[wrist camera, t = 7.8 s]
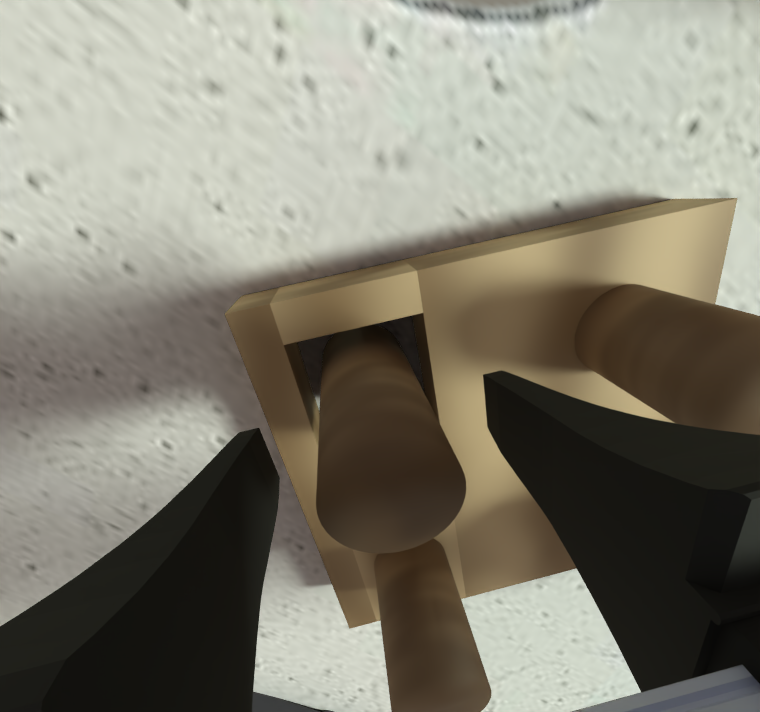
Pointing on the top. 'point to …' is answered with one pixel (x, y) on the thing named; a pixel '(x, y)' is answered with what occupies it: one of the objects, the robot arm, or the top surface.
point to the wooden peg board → (467, 398)
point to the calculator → (277, 705)
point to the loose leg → (381, 449)
